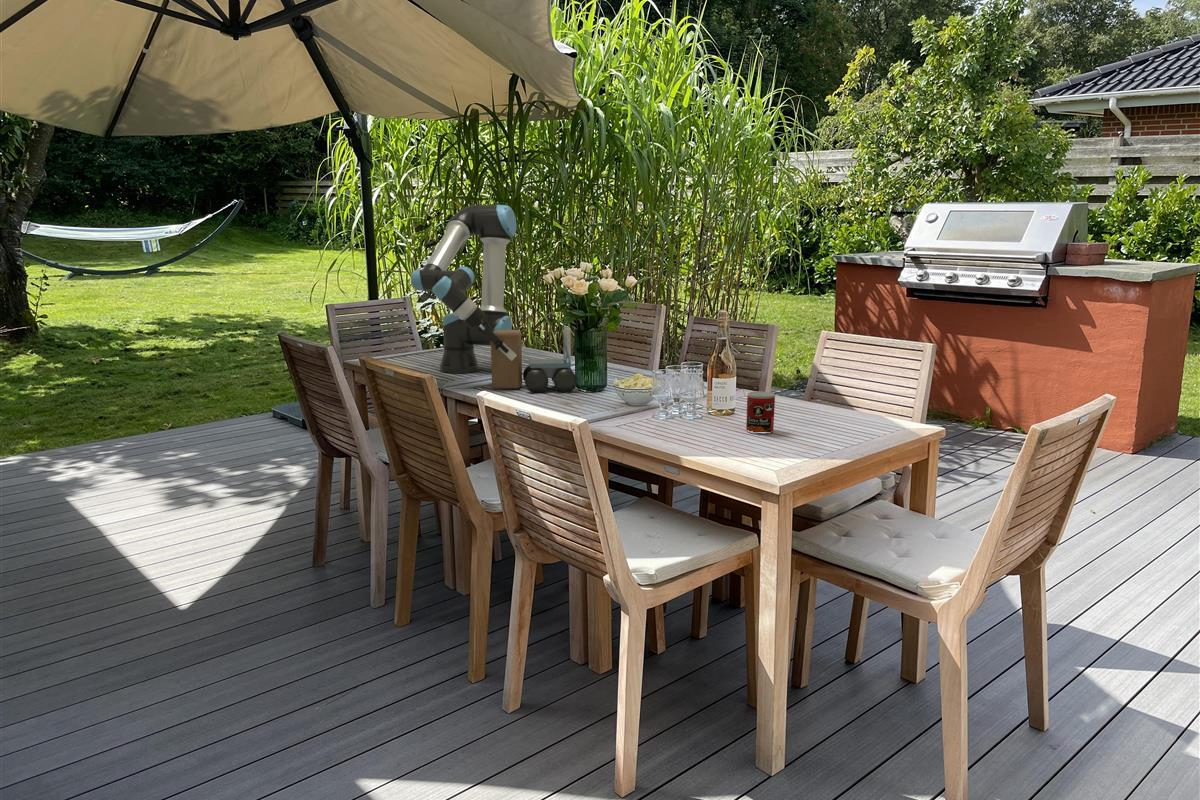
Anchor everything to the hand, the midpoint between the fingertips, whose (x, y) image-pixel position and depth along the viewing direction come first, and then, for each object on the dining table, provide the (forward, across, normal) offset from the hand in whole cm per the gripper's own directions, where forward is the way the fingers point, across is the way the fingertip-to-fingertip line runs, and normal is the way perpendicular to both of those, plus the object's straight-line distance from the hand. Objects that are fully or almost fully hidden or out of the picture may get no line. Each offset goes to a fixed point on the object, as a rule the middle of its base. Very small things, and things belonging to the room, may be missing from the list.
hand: (513, 355), depth 327 cm
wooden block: (+6, +1, -10) cm, 12 cm away
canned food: (+55, +78, +39) cm, 103 cm away
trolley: (+17, +6, +1) cm, 18 cm away
